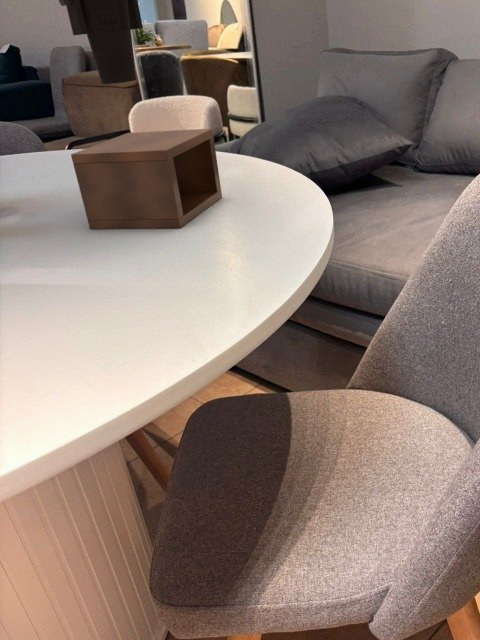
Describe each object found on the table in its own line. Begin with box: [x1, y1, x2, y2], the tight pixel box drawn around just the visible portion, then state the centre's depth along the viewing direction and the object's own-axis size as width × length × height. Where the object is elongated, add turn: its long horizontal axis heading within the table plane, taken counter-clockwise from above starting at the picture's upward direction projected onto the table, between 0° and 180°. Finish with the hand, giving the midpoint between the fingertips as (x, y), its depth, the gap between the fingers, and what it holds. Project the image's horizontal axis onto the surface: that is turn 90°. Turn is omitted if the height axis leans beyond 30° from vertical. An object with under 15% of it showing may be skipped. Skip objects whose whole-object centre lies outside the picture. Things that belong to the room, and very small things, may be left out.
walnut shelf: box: [70, 128, 223, 230], centre depth 92 cm, size 14×16×10 cm
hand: (108, 31), depth 87 cm, fingers closed on drinking cup, 8 cm apart
